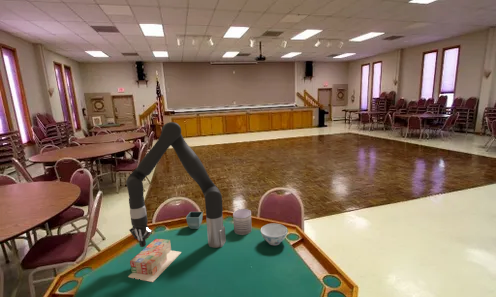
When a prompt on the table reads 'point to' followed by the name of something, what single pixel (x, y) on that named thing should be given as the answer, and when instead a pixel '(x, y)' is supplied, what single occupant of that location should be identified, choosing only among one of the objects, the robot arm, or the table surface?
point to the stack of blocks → (151, 257)
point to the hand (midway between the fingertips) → (142, 246)
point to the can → (242, 221)
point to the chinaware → (274, 233)
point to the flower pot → (194, 219)
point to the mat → (151, 278)
